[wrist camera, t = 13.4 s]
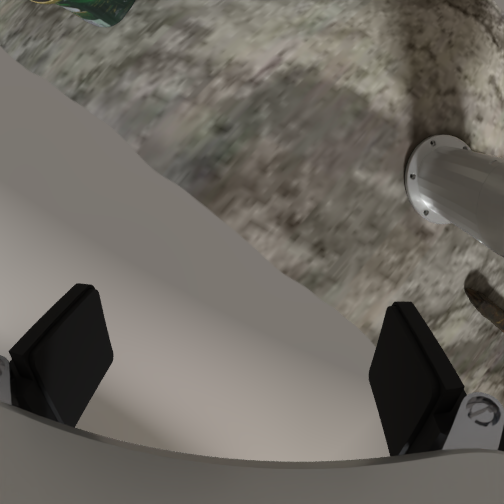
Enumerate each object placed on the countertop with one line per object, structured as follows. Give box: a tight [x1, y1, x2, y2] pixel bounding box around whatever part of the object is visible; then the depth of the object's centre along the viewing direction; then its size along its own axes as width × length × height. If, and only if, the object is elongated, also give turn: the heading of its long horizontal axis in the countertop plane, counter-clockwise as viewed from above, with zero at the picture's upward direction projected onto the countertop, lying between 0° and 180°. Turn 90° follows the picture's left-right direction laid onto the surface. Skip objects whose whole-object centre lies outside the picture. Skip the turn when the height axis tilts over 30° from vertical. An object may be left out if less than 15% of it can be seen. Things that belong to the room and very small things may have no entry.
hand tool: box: [465, 288, 504, 333], centre depth 44 cm, size 19×4×5 cm, turn 58°
